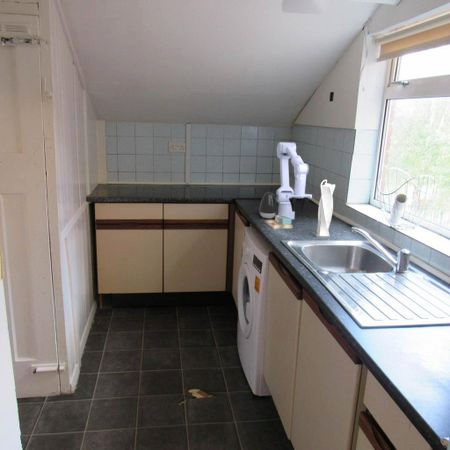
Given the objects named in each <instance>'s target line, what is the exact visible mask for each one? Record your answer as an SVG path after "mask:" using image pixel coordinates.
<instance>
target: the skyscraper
mask: <svg viewBox="0 0 450 450" xmlns="http://www.w3.org/2000/svg"><path fill="white" fill-rule="evenodd" d="M324 182H325V183H324ZM327 182H328V179H324V180H323V181H322V182H321V183H320V193H321V195H320V198H319V203H318V208H317V209H318V212H317V219H318V220H317V228H316V232H313V233H312V235H313V236H315V238H322V239H323V238H324V239H330V238H331V236H330V233H329V232H330V231H329V228H330V225H331V222H332V216H333V210H334V198H333V193H334V192H335V191H334V190H335V189H336V184H334V183H333V184H331V183H327ZM323 183H324V184H323Z"/></svg>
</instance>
